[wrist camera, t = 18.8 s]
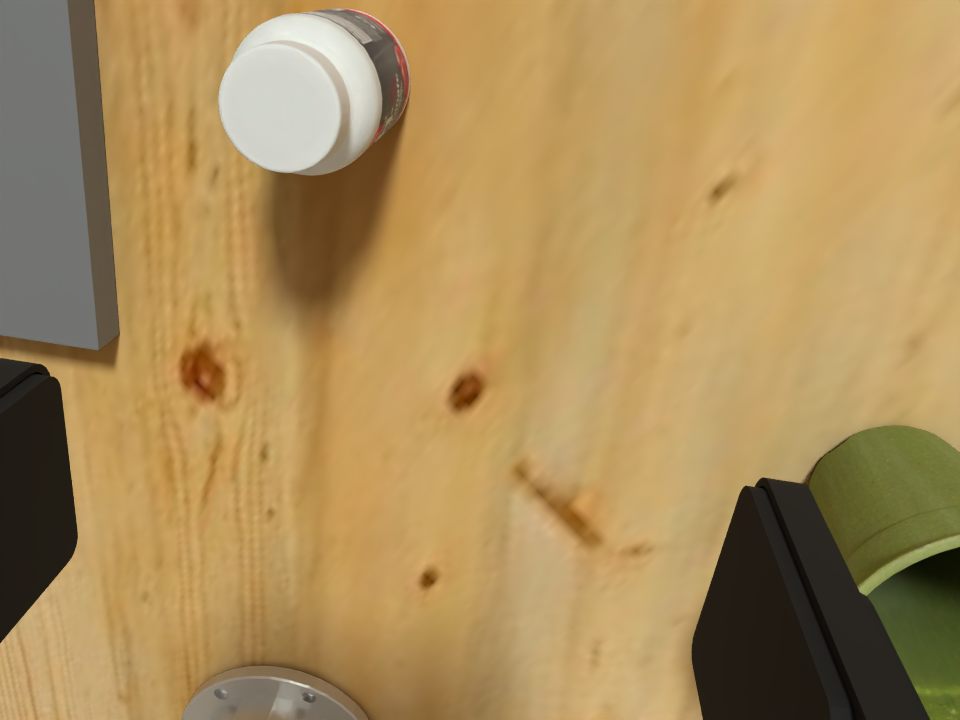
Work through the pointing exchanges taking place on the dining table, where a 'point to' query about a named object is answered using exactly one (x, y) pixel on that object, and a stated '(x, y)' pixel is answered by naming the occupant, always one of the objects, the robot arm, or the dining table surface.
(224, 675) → the robot arm
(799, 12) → the dining table surface
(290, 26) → the pill bottle
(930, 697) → the plant pot
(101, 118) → the switch board
